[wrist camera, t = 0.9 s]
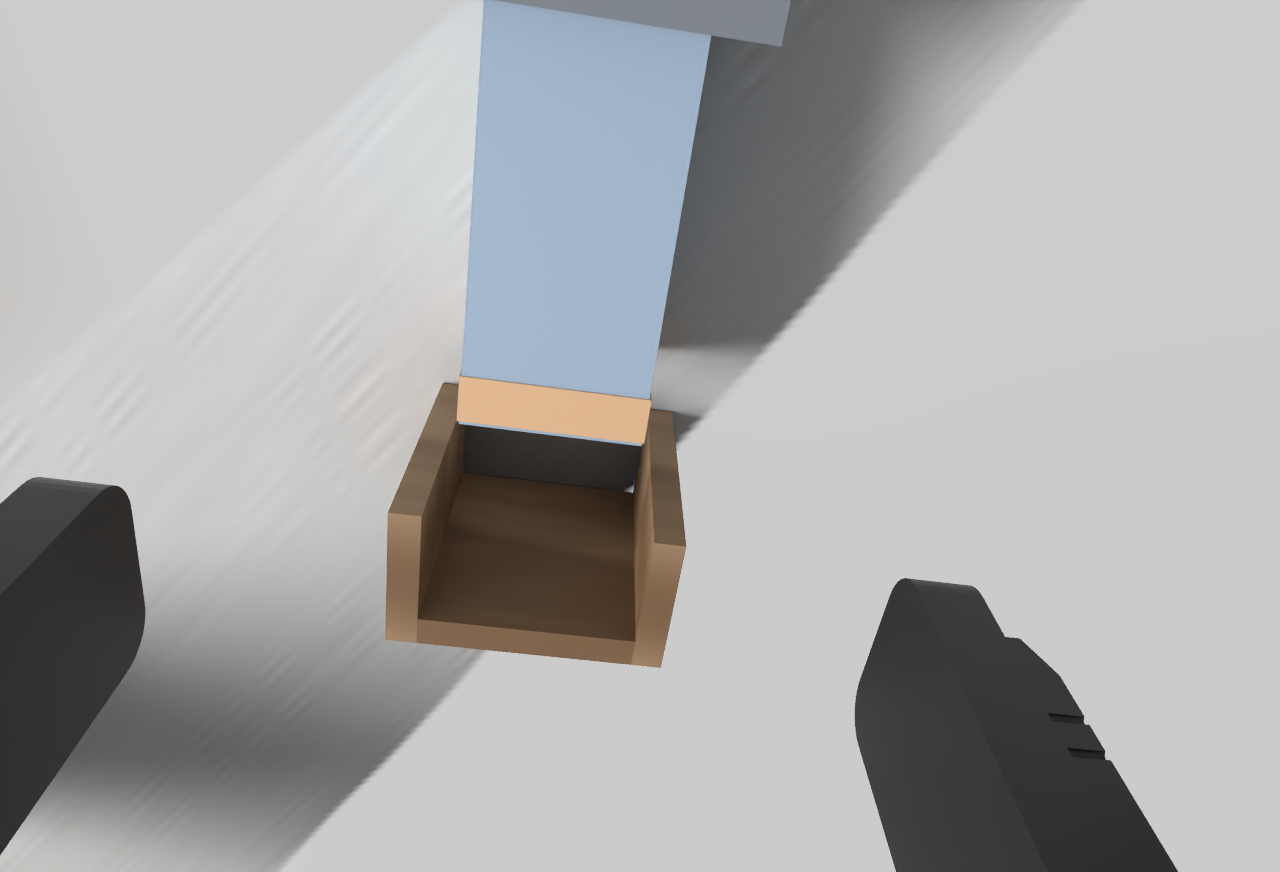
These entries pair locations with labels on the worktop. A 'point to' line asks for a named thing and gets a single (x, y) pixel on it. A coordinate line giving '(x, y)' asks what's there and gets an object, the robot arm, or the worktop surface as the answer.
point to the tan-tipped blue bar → (574, 218)
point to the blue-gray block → (688, 15)
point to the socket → (534, 554)
